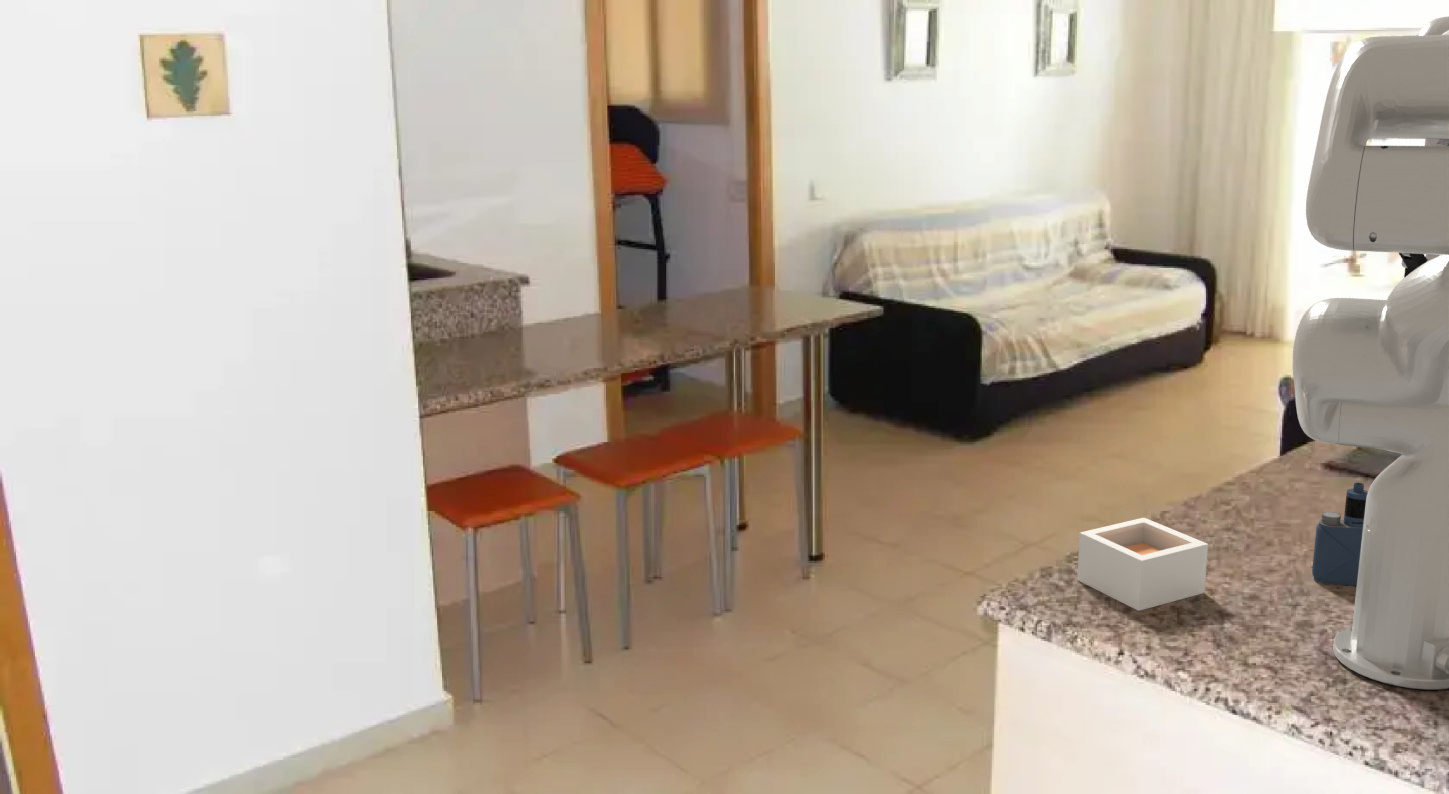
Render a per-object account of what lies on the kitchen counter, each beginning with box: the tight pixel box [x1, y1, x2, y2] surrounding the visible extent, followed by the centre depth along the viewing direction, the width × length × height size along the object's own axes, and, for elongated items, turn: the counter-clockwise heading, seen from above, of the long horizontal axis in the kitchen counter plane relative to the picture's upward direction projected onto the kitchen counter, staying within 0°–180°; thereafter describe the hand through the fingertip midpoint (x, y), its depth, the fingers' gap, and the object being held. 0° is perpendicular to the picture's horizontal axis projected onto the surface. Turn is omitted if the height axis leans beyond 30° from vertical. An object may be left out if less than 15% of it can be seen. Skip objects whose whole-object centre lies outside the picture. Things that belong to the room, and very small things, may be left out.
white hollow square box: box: [1076, 517, 1209, 612], centre depth 146 cm, size 10×10×6 cm
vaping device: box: [1311, 482, 1369, 586], centre depth 146 cm, size 3×5×12 cm, turn 76°
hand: (1446, 300), depth 137 cm, fingers open, 9 cm apart
